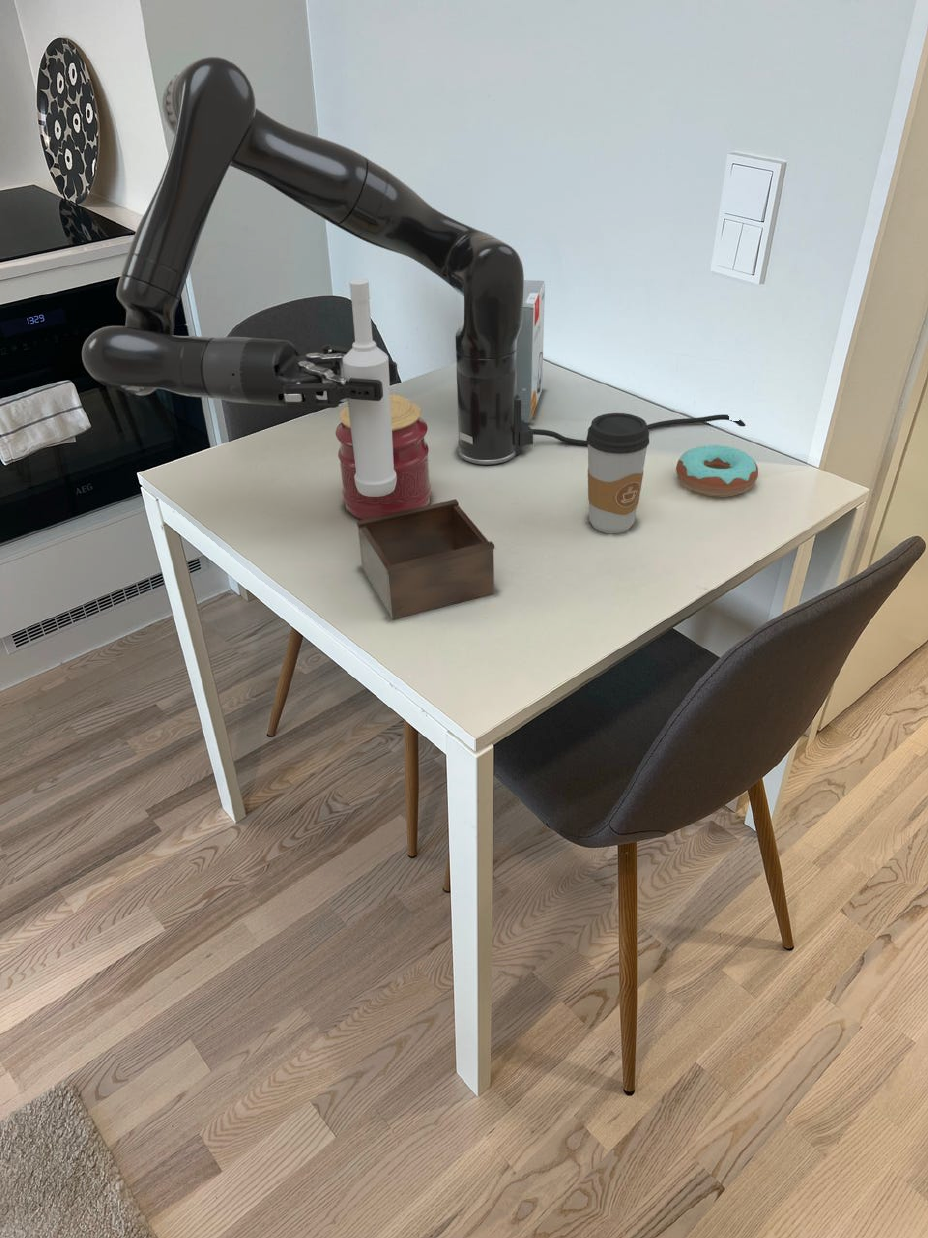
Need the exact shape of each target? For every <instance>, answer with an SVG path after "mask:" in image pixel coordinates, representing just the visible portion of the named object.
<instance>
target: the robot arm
mask: <svg viewBox="0 0 928 1238" xmlns="http://www.w3.org/2000/svg"><path fill="white" fill-rule="evenodd" d="M254 91H255V90H254V88H253V86H252V84H251V81H250V80H249V78H248V76H247V75H246V74H245V72H243V70H242V68H240V66H238V65H237V64H235V63H234V62H233V61H231V60H228V59H227V58H226V59H225V58H222V57H218V56H209V57H204V58H199V59H197V60H195V61H192V62H191V63H189V64H188V65H186V66H185V67H184V68H183V69H181V70H180V71H178V73H176V74H175V75H174V76H173V77H172V78H171V80H170V81H169V82H168V83H167V85H166V86H165V88H164V91H163V93H162V94H163V95H162V100H161V101H162V103H161V104H162V106H161V107H162V112H163V116H164V119H165V122H166V123H167V125H168V127H169V129H170V131H171V132H172V133H173V135H174V136H173V141H172V145H171V149H170V153H169V156H168V158H167V159H168V160H167V162H166V165H165V168H164V170H163V172H162V176H161V178H160V181H159V183H158V185H157V187H156V189H155V192H154V194H153V195H152V198H151V200H150V201H149V203H148V206H147V207H146V210H145V212H144V214H143V216H142V218H141V220H140V222H139V224H138V226H137V229H136V231H135V233H134V235H133V238H132V241H131V243H130V246H129V249H128V253H127V255H126V258H125V261H124V265H123V268H122V270H121V274H120V276H119V280H118V283H117V287H116V298H117V300H118V302H119V303H120V305H121V306H122V307H123V308H124V310H125V314H126V315H125V325H107V326H103V327H100V328H98V329H96V330H95V331H93V332H92V333H91V334H90V335H89V336H88V337H87V338H86V340H84V343H83V346H82V350H81V358H82V359H81V360H82V363H83V366H84V368H85V369H86V371H87V373H88V374H89V375H90V376H91V377H92V378H93V379H94V380H95V381H97V382H98V383H100V384H102V385H104V386H107V387H109V388H112V389H113V390H114V389H115V390H117V391H120V392H123V393H124V394H128V395H131V396H135V397H144V396H148V395H150V394H152V393H154V392H155V391H156V390H157V389H158V390H159V389H160V390H165V391H168V392H171V393H174V394H177V395H180V396H185V397H191V398H203V399H215V400H216V399H217V400H221V401H222V400H223V401H226V402H231V403H238V404H253V405H265V406H275V407H277V406H278V407H285V408H286V409H335V408H338V407H339V406H340V402H341V403H348V401H349V400H350V399H357V400H369V401H380V400H381V399H382V397H383V386H382V382H381V381H379V380H370V379H356V378H350V379H349V382H348V379H347V378H345V376H344V368H343V360H342V359H343V358H344V356H345V355H346V354H347V353H348V352H349V351H350V350H351V349H352V348H351V347H346V346H339V345H332V344H324V345H322V346H321V351H322V352H310V353H307V354H303V355H301V354H300V353H299V352H298V351H297V350H296V348H295V346H294V344H293V343H292V342H291V341H289V340H287V339H277V338H260V337H246V336H245V337H244V336H243V337H242V336H223V337H213V336H212V337H211V336H197V335H195V336H194V335H174V332H175V315H176V310H177V307H178V306H179V302H180V299H181V296H182V294H183V290H184V287H185V284H186V282H187V278H188V275H189V272H190V269H191V267H192V263H193V261H194V257H195V254H196V251H197V248H198V245H199V242H200V239H201V237H202V233H203V231H204V227H205V224H206V222H207V219H208V216H209V215H210V211H211V209H212V207H213V204H214V201H215V199H216V197H217V194H218V192H219V190H220V187H221V185H222V183H223V181H224V179H225V177H226V174H227V172H228V170H229V168H230V167H232V168H235V169H236V170H239V171H241V172H244V173H245V174H247V175H250V176H252V177H254V178H256V179H258V180H260V181H262V182H264V183H265V184H267V185H269V186H270V187H272V188H273V189H275V190H276V191H278V192H280V193H281V194H283V195H284V196H286V197H288V198H289V199H291V200H292V201H294V202H296V203H297V204H299V205H300V206H302V207H304V208H306V209H307V210H309V211H311V212H312V213H314V214H316V215H317V216H318V217H321V218H322V219H324V220H326V221H327V222H329V223H330V224H332V225H334V226H336V227H338V228H339V229H341V230H343V231H345V232H346V233H349V234H350V235H352V236H353V237H356V238H358V239H360V240H361V241H364V242H367V243H369V244H371V245H374V246H376V247H379V248H381V249H384V250H387V251H390V252H394V253H397V254H400V255H402V256H405V257H408V258H410V259H412V260H414V261H415V262H417V263H418V264H420V265H422V266H423V267H425V268H426V269H428V270H429V271H430V272H432V273H433V274H435V275H436V276H437V277H439V278H440V279H441V280H443V281H444V282H446V283H447V284H448V285H449V286H450V287H452V288H453V289H454V290H455V291H456V292H457V293H458V294H460V295H461V296H463V324H462V325H461V326H460V327H458V328H457V329H456V331H455V335H454V337H455V339H454V340H455V341H454V342H455V365H456V366H455V367H456V396H457V397H456V398H457V421H458V422H457V427H458V429H457V430H458V455H459V457H460V459H462V460H464V461H465V462H469V463H471V464H475V465H484V466H485V465H498V464H501V463H506V462H508V461H510V460H512V459H513V458H514V457H515V456H519V455H522V447H525V446H531V445H533V444H534V436H545V437H550V438H554V439H555V440H557V441H559V442H562V443H564V444H567V445H574V446H581V447H588V443H587V441H586V440H583V439H577V438H570V437H566V436H564V435H562V434H560V433H558V432H556V431H553V430H548V429H539V428H531V427H530V426H529V425H528V423H525V422H523V421H522V420H521V398H520V397H519V396H518V395H517V394H516V350H517V349H516V348H517V337H518V335H519V333H520V330H521V326H522V312H523V292H524V280H525V277H524V276H525V273H524V266H523V263H522V259H521V257H520V255H519V253H518V252H517V250H515V249H514V247H512V246H511V245H510V244H508V243H506V242H504V241H503V240H501V239H499V238H498V237H496V236H494V235H492V234H489V233H487V232H485V231H482V230H479V229H477V228H474V227H472V226H469V225H468V224H465V223H462V222H460V221H458V220H456V219H454V218H453V217H451V216H448V215H446V214H444V213H443V212H440V211H439V210H437V209H435V207H433V206H431V204H429V203H428V202H427V201H425V200H424V198H422V197H421V196H420V195H419V194H418V193H417V192H416V191H415V190H413V189H412V188H411V187H410V186H409V185H407V184H406V183H405V182H404V181H402V180H400V178H398V177H397V176H396V175H394V174H393V173H392V172H390V171H389V170H387V169H386V168H384V167H382V166H381V165H379V164H377V163H376V162H374V161H373V160H372V159H369V158H367V157H366V156H364V155H363V154H361V153H359V152H357V151H355V150H354V149H351V148H349V147H347V146H344V145H342V144H340V143H338V142H337V143H336V142H335V141H332V140H328V139H325V138H323V137H322V138H321V137H319V136H317V135H313V134H310V133H306V132H303V131H300V130H297V129H294V128H291V127H290V126H286V125H285V124H282V123H281V122H278V121H277V120H276V119H273V118H272V117H270V116H269V115H267V114H266V113H265V112H263V111H261V110H260V109H258V108H257V103H256V95H255V92H254ZM388 361H389V382H390V383H391V382H392V383H393V382H395V381H396V380H397V379H398V377H399V372H398V364H397V362H396V361H393V360H388ZM338 370H339V371H340V375H338ZM728 415H729V414H714V415H707V416H700V417H688V418H687V417H686V418H674V419H668V420H667V419H666V420H661V421H656V422H653V423H649V424H647V429H648V431H650V430H651V431H652V430H653V429H657V428H663V427H667V426H675V425H686V424H687V425H689V424H700V423H708V422H714V421H724V420H725V421H730V422H733V423H735V424H736V425H737V426H739V427H746V426H747V425H746V423H745V422H744V421H743V420H742V419H740V420H739V421H732V420H729V416H728Z"/></svg>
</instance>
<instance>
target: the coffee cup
mask: <svg viewBox="0 0 928 1238" xmlns="http://www.w3.org/2000/svg"><path fill="white" fill-rule="evenodd" d="M647 425H648V424H647V421H646V420H645V419H643V417H640V416H637V415H635V414H632V413H627V412H626V413H625V412H609V413H604V414H600V415H597V416H596V417H594V418H593V419H592V420H591V423H590V426H589V427H588V429H587V435H586V440H585V441H587V443H588V446H587V500H588V520H589V522H590V524H591V527H593V529H595V530H597V531H599V532H601V533H606V534H622V533H624V532H627V531H629V530H630V529H631V528H632V527H633V525H634V523H635V521H636V516H637V509H638V505H639V501H640V495H641V490H642V483H643V477H644V469H645V468H644V467H645V463H646V462H645V461H646V456H647V449H648V446H649V445H650V430H648V429H647Z"/></svg>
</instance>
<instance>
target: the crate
mask: <svg viewBox="0 0 928 1238" xmlns="http://www.w3.org/2000/svg"><path fill="white" fill-rule="evenodd" d="M355 523H356V526H357V533H358V541H359V550H360V560H361V569H362V571H363V572H364V574H365V575H366V577H367V579H368V581H369V582H370V583H371V586H372V587H373V589H374V591H375V592H376V594H377V596H378V598H379V599H380V601H381V602H382V604H383V607H385V609H386V611H387V613H388V615H389V616H390V617H391V619H392V620H397V619H400V618H404V617H408V616H413V615H416V614H420V613H424V612H428V611H431V610H436V609H440V608H443V607H448V606H450V605H454V604H460V603H463V602H466V601H471V600H474V599H479V598H482V597H486V596H490V595H494V594H495V590H494V589H495V588H494V587H495V584H494V583H495V580H494V579H495V576H494V575H495V574H494V573H495V572H494V571H495V569H494V550H495V544H494V543H493V541H489V540H488V538H486V536H485V535H484V534H483V533H482V531H480V529H479V528H478V527H477V525H476V524H475V523H474V522H473V521H472V520H471V518H470V517H469V516H468V515H467V514H466V512H465V511H464V510H463V508H461V506H459V501H458V499H456V498H455V499H451V500H446V501H441V502H437V503H432V504H428V505H427V506H423V507H418V508H414V509H409V510H405V511H400V512H396V513H391V514H387V515H382V516H378V517H373V518H369V519H364V520H362V519H359V520H356V522H355Z"/></svg>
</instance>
